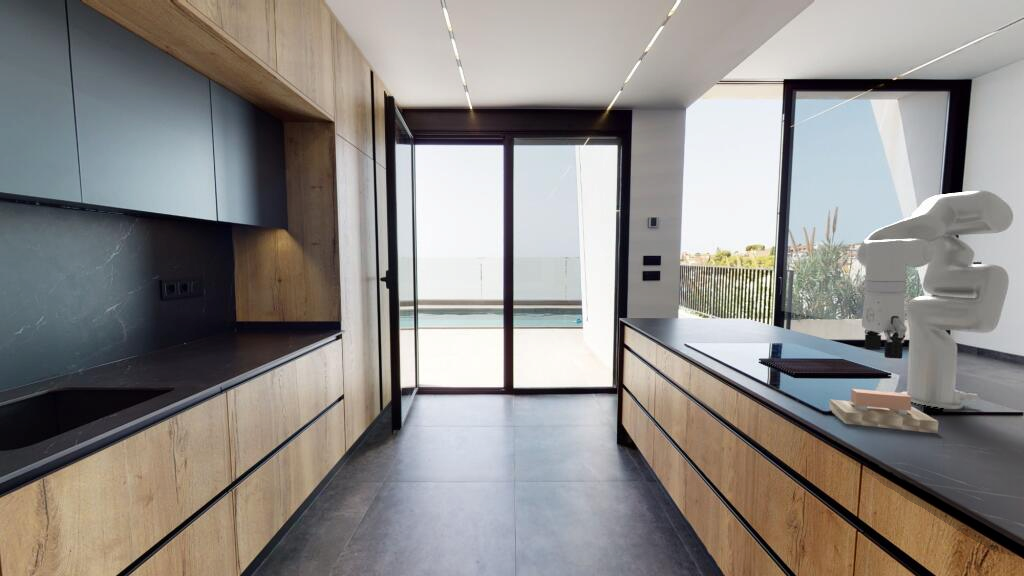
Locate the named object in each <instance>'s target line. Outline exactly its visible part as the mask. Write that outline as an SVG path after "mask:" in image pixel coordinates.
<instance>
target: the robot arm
mask: <svg viewBox="0 0 1024 576" xmlns="http://www.w3.org/2000/svg"><path fill="white" fill-rule="evenodd" d="M1013 220H1014V214H1013V210H1012V207H1011V206H1010V205H1009V204H1008V203H1007V202H1006V201H1005V200H1003V198H1001V197H1000V196H999V195H997V194H995V193H992V192H991V191H987V190H970V191H962V192H954V193H953V192H952V193H946V194H938V195H934V196H931V197H929V198H927V199H925V200H923V202H922V203H921V204H920V205H919V206H918V207H917V208H916V209H915V210H914V211H913V212H912V213H911V214H910V215H909V217H907V218H905V219H901V220H899V221H897V222H894V223H891V224H889V225H886V226H883V227H881V228H879V229H876V230H874V231H873V232H872V233H871V234H869V235H868V236H867V237H866V238H865V239H864V240H863V241H862V242H861V244H860V246H859V247H858V250H857V260H858V262H859V264H861V265H862V266H863V267H865V277H864V278H865V281H864V294H865V296H864V300H863V306H862V317H861V327H862V328H863V329H864V334H865V335H864V349H865V350H869V351H870V350H871V351H872V350H873V351H875V350H876V351H880V350H881V349H882V346H881V345H882V335H881V334H882V333H884V336H885V339H886V341H884V358H887V359H900V360H901V359H902V358H903V347H904V346H903V345H904V343H905V339H906V332H907V330H908V331H909V342H908V363H907V364H908V365H907V366H908V367H907V383H906V384H907V387H906V391H902V392H900V393H905V394H907V395H909V396H911V402H913V403H912V404H914V403H916V404H915V405H918V404H921V405H920V406H922V405H926V406H925V407H927V406H931V407H930V408H933V407H938V408H937V409H940V408H944V409H943V410H960V409H962V408H963V406H964V405H963V402H962V401H964V400H967V401H972V402H973V401H974V402H977V401H979V399H980V398H979V395H978V394H977V393H966V392H965V391H961V390H957V389H956V380H957V376H956V375H957V364H958V363H957V361H958V345H957V342H956V341H955V339H954V338H953V337H952V336H951V335H950V334H949V332H948V331H955V332H956V331H957V332H965V333H976V334H986V333H992V332H993V331H994V330H995V329H997V326H998V324H999V322H1000V319H1001V315H1002V312H1003V309H1004V308H1003V307H1004V305H1005V300H1006V298H1007V294H1008V288H1009V274H1008V272H1007V270H1006V269H1005V268H1004V267H1002V266H1000V265H997V264H988V263H983V264H982V263H973V260H974V258H975V252H974V250H973V249H972V248H971V246H970V245H969V244H967V243H966V242H964V241H963V240H961V239H959V237H957V236H963V235H965V236H966V235H984V234H985V235H986V234H996V233H997V234H999V233H1003V232H1005V231H1006V230H1008V229H1009V227H1011V225H1012V224H1013ZM926 265H927V267H926V270H925V274H924V276H923V277H924V278H923V282H922V288H923V290H924V291H925V292H926V293H927V294H929V295H921V296H917V297H913V298H911V299H910V300H909V301H908V303H907V304H906V309H905V299H904V295H906V294H907V293H906V291H907V270H908V269H910V268H912V269H914V268H919V267H920V268H921V267H923V266H926ZM905 311H906V313H905ZM905 314H906V315H905ZM905 316H906V317H905ZM906 318H907V322H908V323H907V324H908V328H907V326H906V324H905V319H906Z"/></svg>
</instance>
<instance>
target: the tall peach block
mask: <svg viewBox="0 0 1024 576" xmlns="http://www.w3.org/2000/svg"><path fill="white" fill-rule="evenodd" d="M850 391H851V392H850V393H851V394H850V401H851V402H852V403H854V408H855V409H856V410H862V411H867V406H869V407H879V408H890V409H892V411H893V412H894V413H896V414H903V415H907V410H911V407H912V403H911V396H909V395H907V394H905V393H901V392H895V391H882V390H881V391H880V390H869V389H860V388H859V389H858V388H851V390H850Z"/></svg>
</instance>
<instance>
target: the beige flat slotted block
mask: <svg viewBox="0 0 1024 576" xmlns="http://www.w3.org/2000/svg"><path fill="white" fill-rule="evenodd" d="M828 402H829V403H828V404H829V405H828V410H829V409H830V410H831V411H832V412H831V411H830V410H829V411H830V412H831V413H832V414H834V416H835V417H837V418H838V419H839V420H840V421H842V423H844V424H848V425H854V426H855V425H858V426H866V427H875V428H884V429H885V428H886V429H893V430H902V431H911V432H912V431H913V432H920V433H928V434H930V433H931V434H938V433H939V421H938V420H937V419H934V418H933V417H931V416H929V415H928V414H927V413H924V412H923V411H921V410H919V409H917V408H915V407H914V406H911V410H907V415H903V414H896V413H894V412H893V411H892V409H890V408H879V407H869V406H867V411H862V410H856V409H855V408H854V403H852V402H851V400H842V399H841V400H839V399H832V398H830V399H828Z"/></svg>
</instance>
